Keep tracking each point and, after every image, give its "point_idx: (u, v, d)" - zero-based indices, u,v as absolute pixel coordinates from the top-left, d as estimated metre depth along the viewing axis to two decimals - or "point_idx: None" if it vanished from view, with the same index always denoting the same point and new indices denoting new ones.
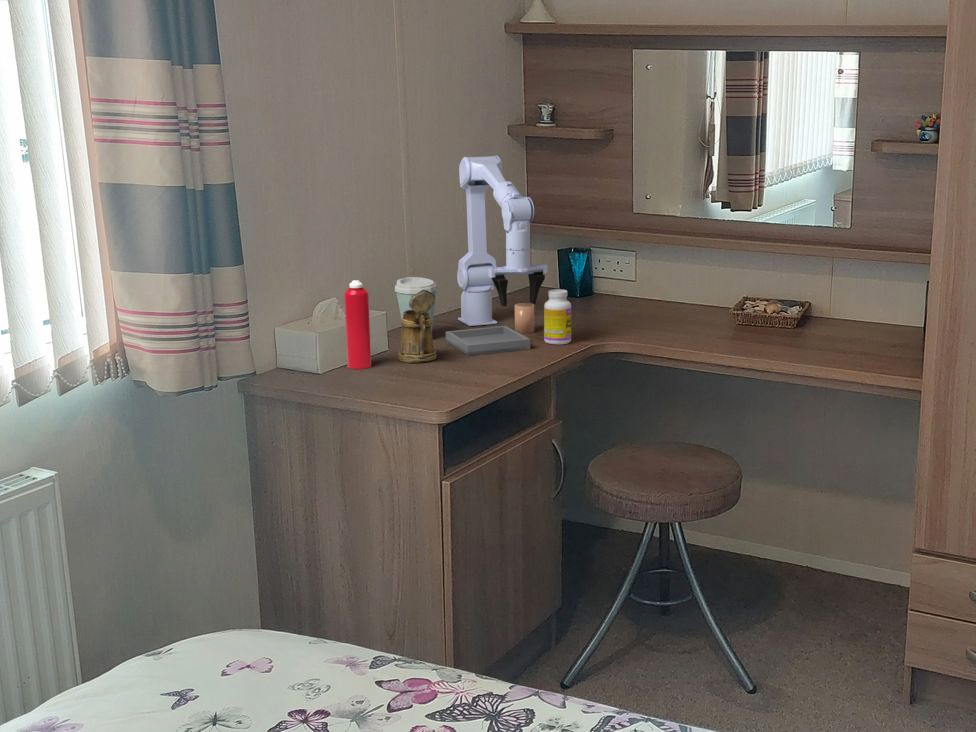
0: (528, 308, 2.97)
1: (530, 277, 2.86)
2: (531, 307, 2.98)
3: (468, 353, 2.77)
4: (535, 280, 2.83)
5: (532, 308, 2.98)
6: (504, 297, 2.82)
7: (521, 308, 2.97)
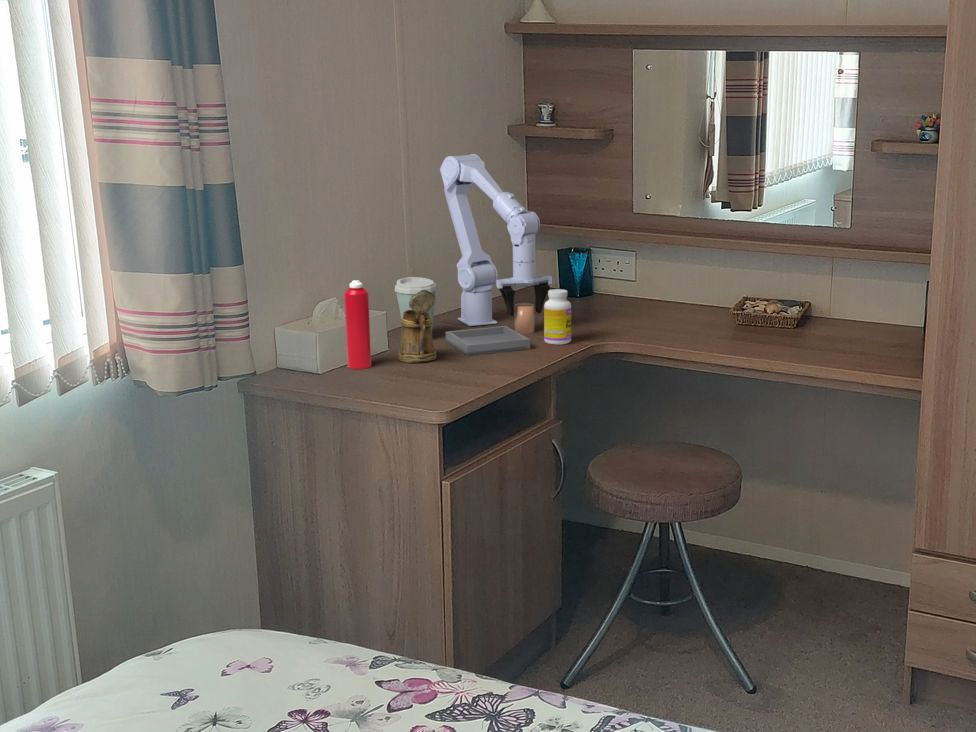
0: (528, 308, 2.97)
1: (536, 288, 3.01)
2: (531, 307, 2.98)
3: (468, 353, 2.77)
4: (540, 290, 2.98)
5: (532, 308, 2.98)
6: (511, 307, 2.97)
7: (521, 308, 2.97)
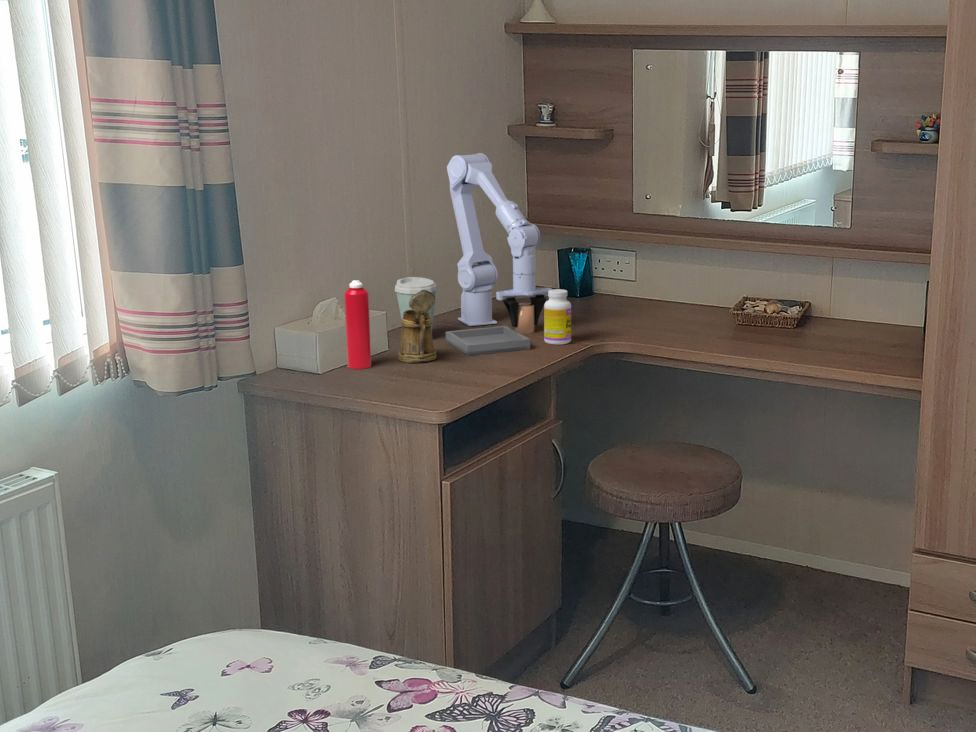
0: (528, 308, 2.97)
1: (532, 300, 3.01)
2: (531, 307, 2.98)
3: (468, 353, 2.77)
4: (537, 303, 2.99)
5: (532, 308, 2.98)
6: (515, 318, 2.98)
7: (521, 308, 2.97)
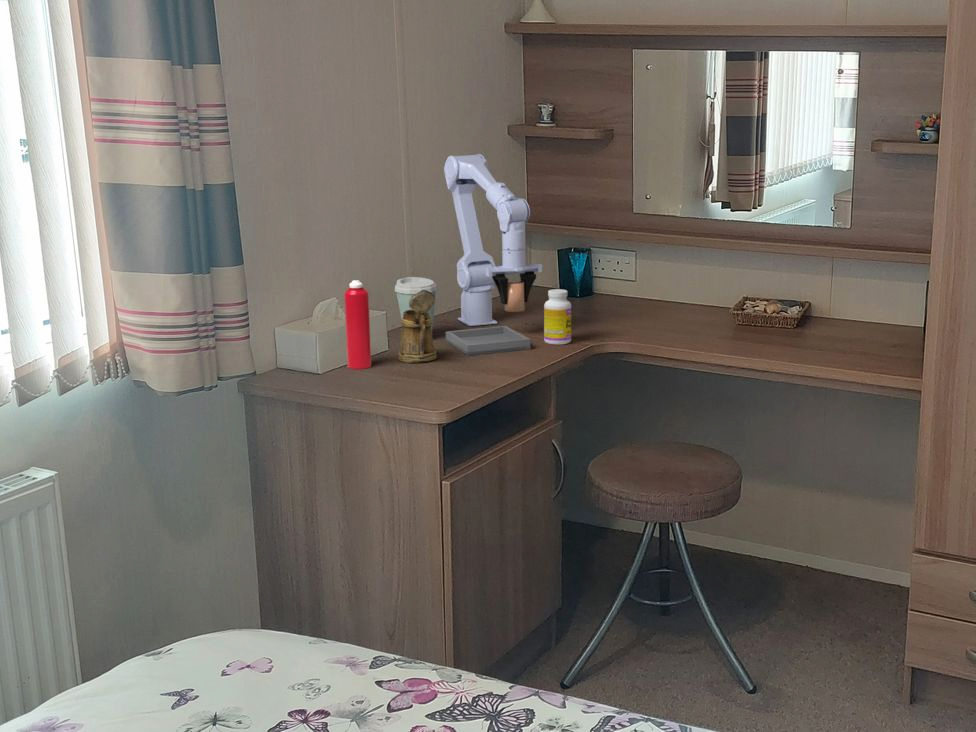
0: (518, 285, 2.92)
1: (522, 276, 2.96)
2: (521, 284, 2.92)
3: (468, 353, 2.77)
4: (527, 279, 2.93)
5: (522, 285, 2.93)
6: (504, 295, 2.92)
7: (510, 285, 2.92)
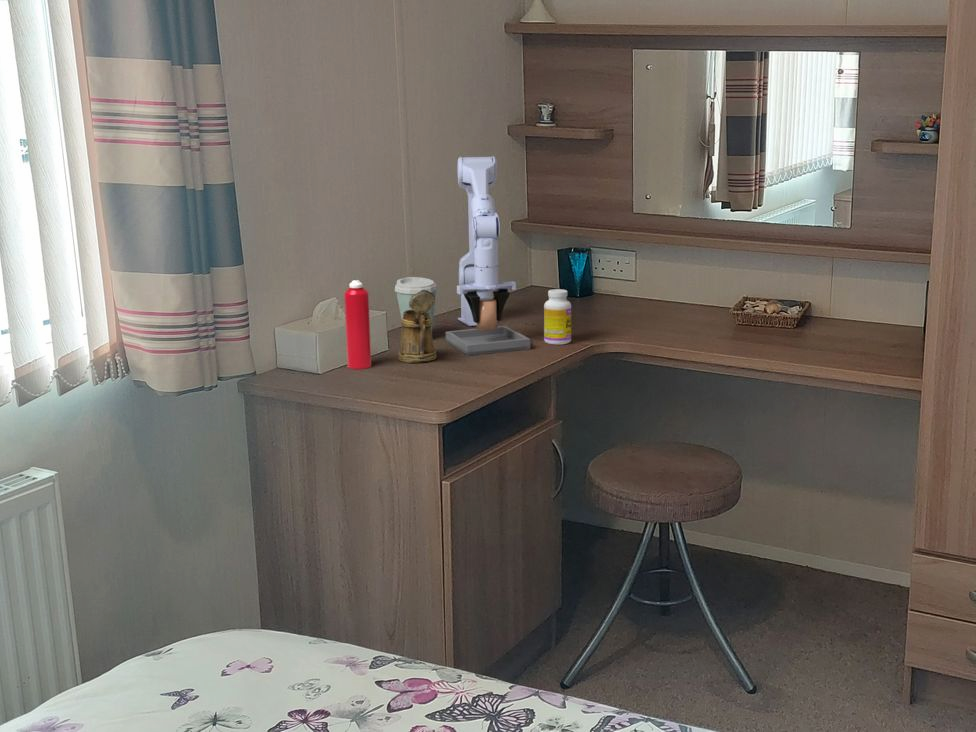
0: (488, 303, 2.83)
1: (495, 294, 2.86)
2: (492, 302, 2.83)
3: (468, 353, 2.77)
4: (499, 297, 2.84)
5: (493, 304, 2.83)
6: (476, 314, 2.83)
7: (481, 303, 2.83)
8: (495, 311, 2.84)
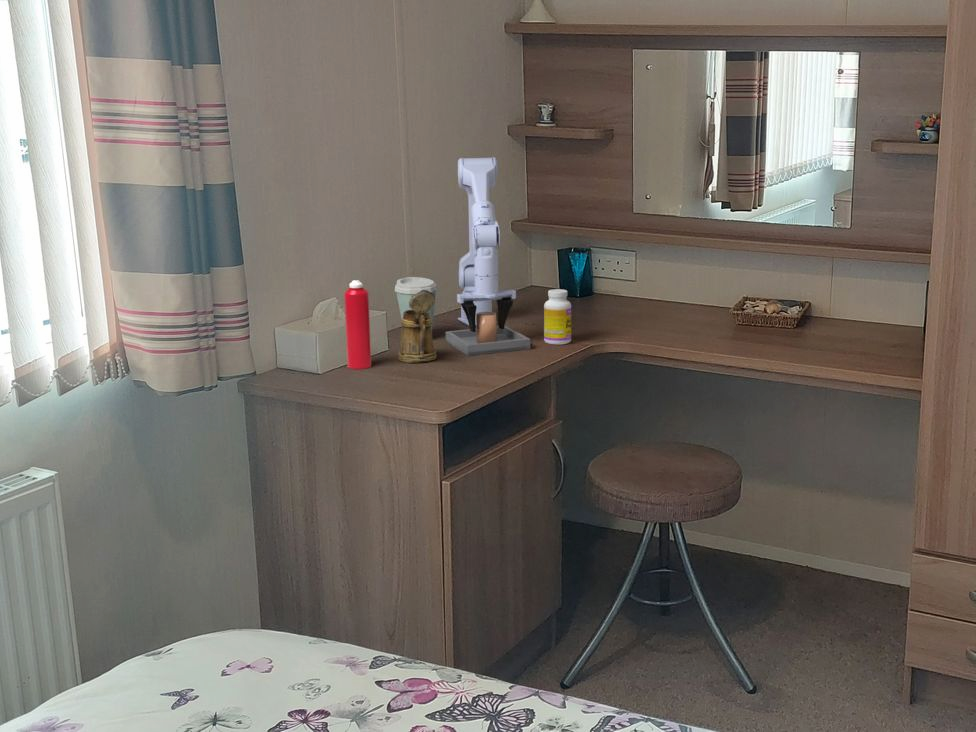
0: (489, 317, 2.83)
1: (498, 302, 2.87)
2: (492, 316, 2.84)
3: (468, 353, 2.77)
4: (503, 305, 2.84)
5: (493, 317, 2.84)
6: (473, 322, 2.83)
7: (481, 317, 2.84)
8: (495, 325, 2.85)
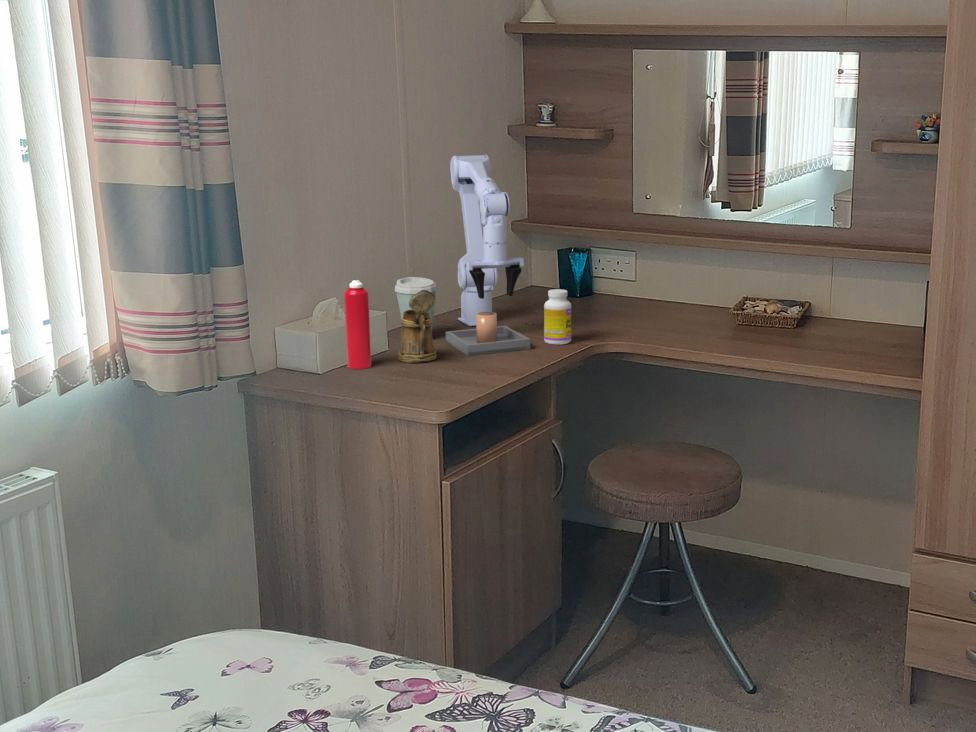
0: (488, 317, 2.83)
1: (507, 270, 2.94)
2: (492, 316, 2.84)
3: (468, 353, 2.77)
4: (512, 273, 2.91)
5: (493, 317, 2.84)
6: (481, 289, 2.90)
7: (481, 317, 2.84)
8: (495, 325, 2.85)
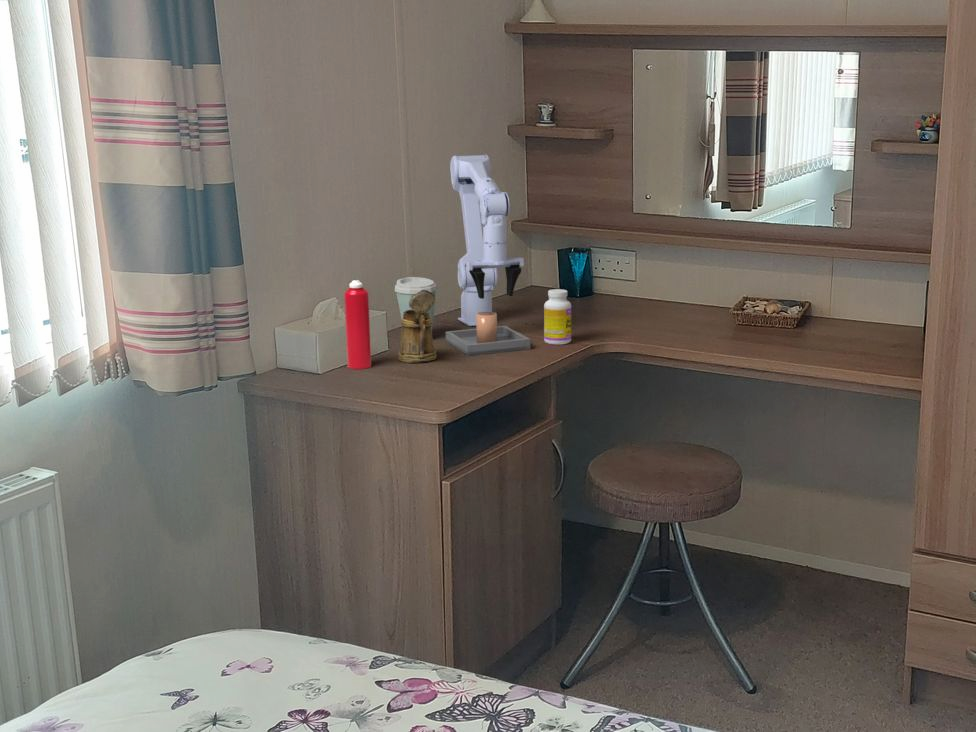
0: (489, 317, 2.83)
1: (507, 270, 2.94)
2: (492, 316, 2.84)
3: (468, 353, 2.77)
4: (512, 273, 2.91)
5: (493, 317, 2.84)
6: (481, 289, 2.90)
7: (481, 317, 2.84)
8: (495, 325, 2.85)
